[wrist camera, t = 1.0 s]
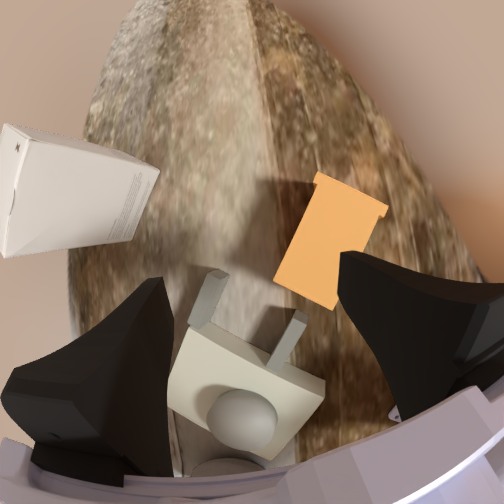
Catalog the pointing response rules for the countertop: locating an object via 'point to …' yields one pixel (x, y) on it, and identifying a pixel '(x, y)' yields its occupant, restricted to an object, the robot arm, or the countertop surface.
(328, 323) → the countertop surface
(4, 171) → the skincare box
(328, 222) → the orange lidded tapered block
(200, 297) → the grey stand
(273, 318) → the countertop surface
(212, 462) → the grey faceted tapered shape
